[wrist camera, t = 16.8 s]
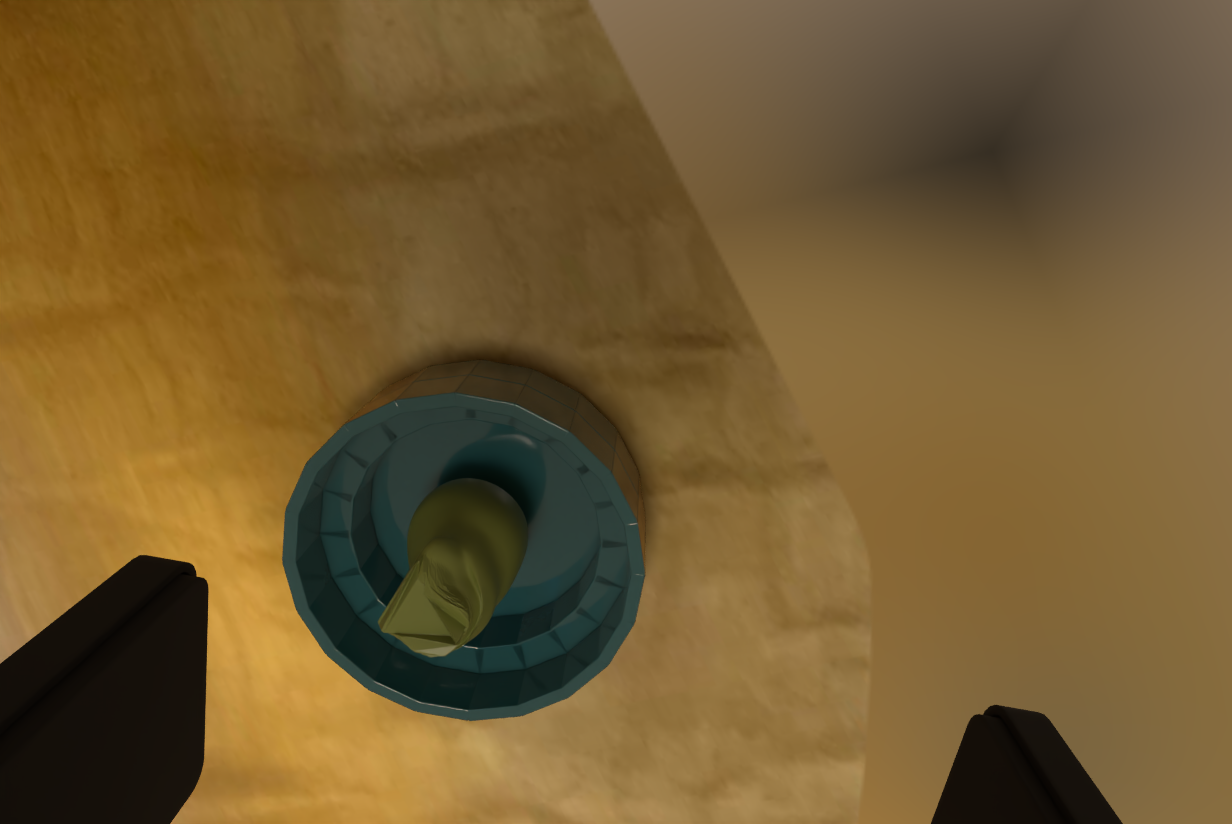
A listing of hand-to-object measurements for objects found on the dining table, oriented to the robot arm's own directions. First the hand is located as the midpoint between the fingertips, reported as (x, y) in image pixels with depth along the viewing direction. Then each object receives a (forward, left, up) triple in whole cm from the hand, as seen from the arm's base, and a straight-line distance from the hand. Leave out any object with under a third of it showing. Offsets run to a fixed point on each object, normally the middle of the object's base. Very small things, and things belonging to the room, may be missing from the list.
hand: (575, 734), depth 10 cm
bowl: (-5, -11, -28) cm, 31 cm away
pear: (-5, -11, -28) cm, 30 cm away
